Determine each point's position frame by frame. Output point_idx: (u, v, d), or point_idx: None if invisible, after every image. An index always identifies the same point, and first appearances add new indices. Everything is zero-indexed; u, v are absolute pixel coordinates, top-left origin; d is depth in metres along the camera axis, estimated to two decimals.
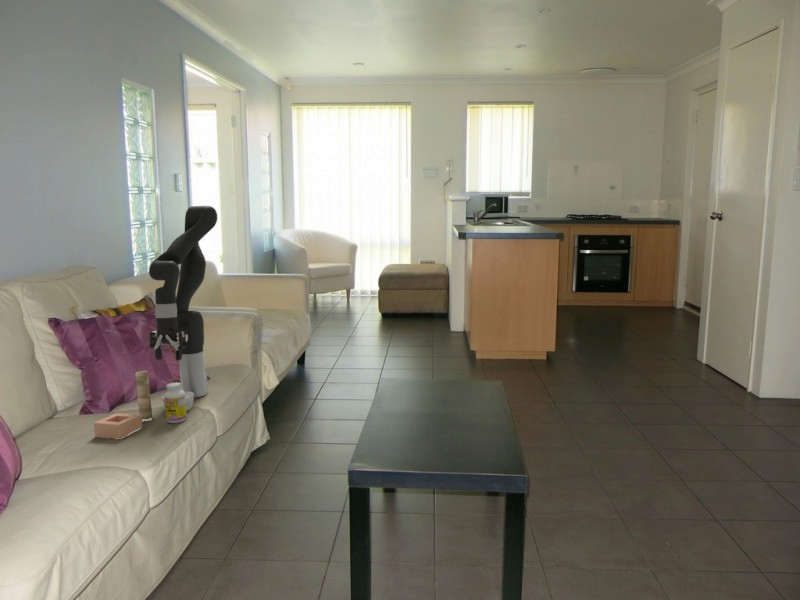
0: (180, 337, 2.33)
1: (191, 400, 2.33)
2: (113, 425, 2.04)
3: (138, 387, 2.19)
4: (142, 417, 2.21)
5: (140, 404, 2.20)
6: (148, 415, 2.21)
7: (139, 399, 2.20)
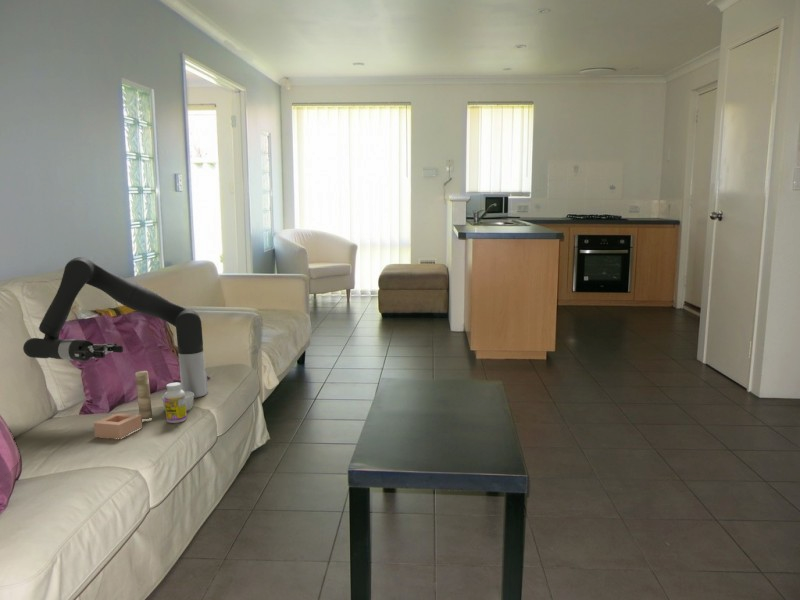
0: None
1: (191, 400, 2.33)
2: (113, 425, 2.04)
3: (138, 387, 2.19)
4: (142, 417, 2.21)
5: (140, 404, 2.20)
6: (148, 415, 2.21)
7: (139, 399, 2.20)
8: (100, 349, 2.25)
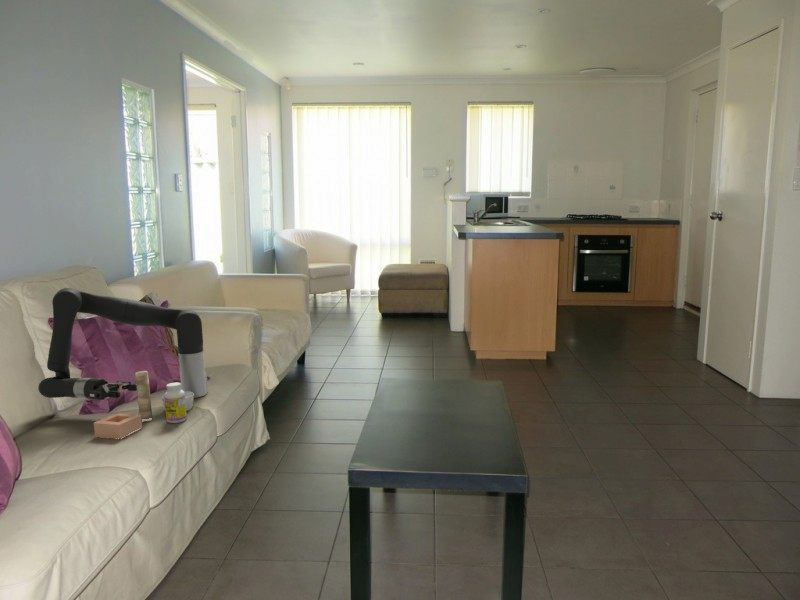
0: None
1: (191, 400, 2.33)
2: (113, 425, 2.04)
3: (138, 387, 2.19)
4: (142, 417, 2.21)
5: (140, 404, 2.20)
6: (148, 415, 2.21)
7: (139, 399, 2.20)
8: (115, 388, 2.26)
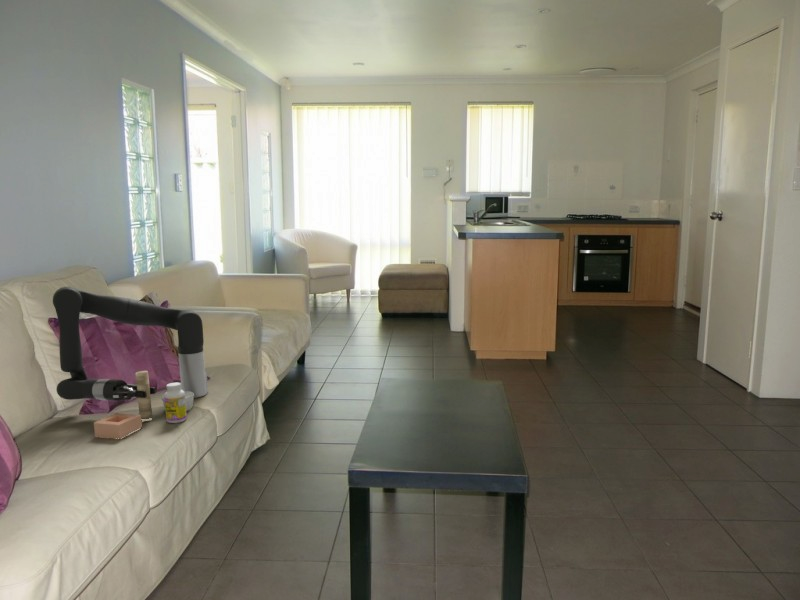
0: None
1: (191, 400, 2.33)
2: (113, 425, 2.04)
3: (138, 387, 2.19)
4: (142, 417, 2.21)
5: (140, 404, 2.20)
6: (148, 415, 2.21)
7: (139, 399, 2.20)
8: None
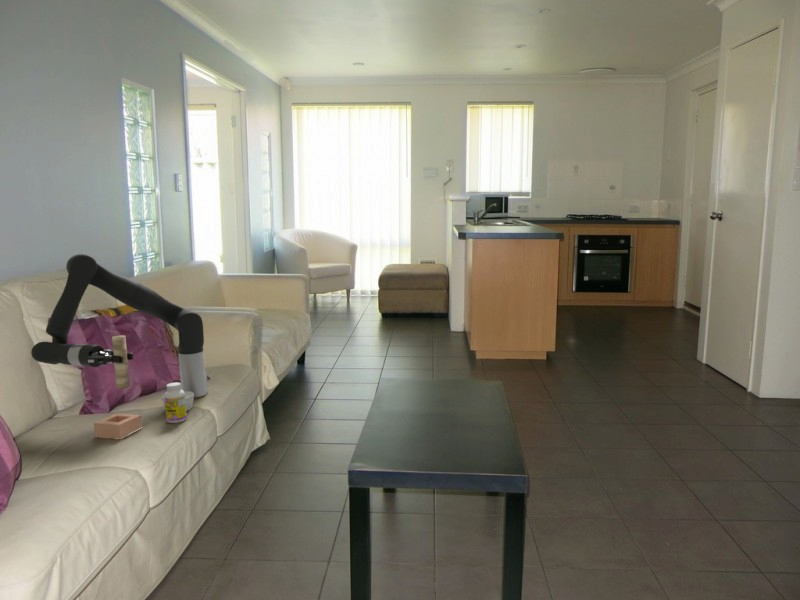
0: None
1: (191, 400, 2.33)
2: (113, 425, 2.04)
3: (115, 352, 2.10)
4: (118, 383, 2.11)
5: (116, 370, 2.10)
6: (125, 382, 2.11)
7: (115, 364, 2.10)
8: None
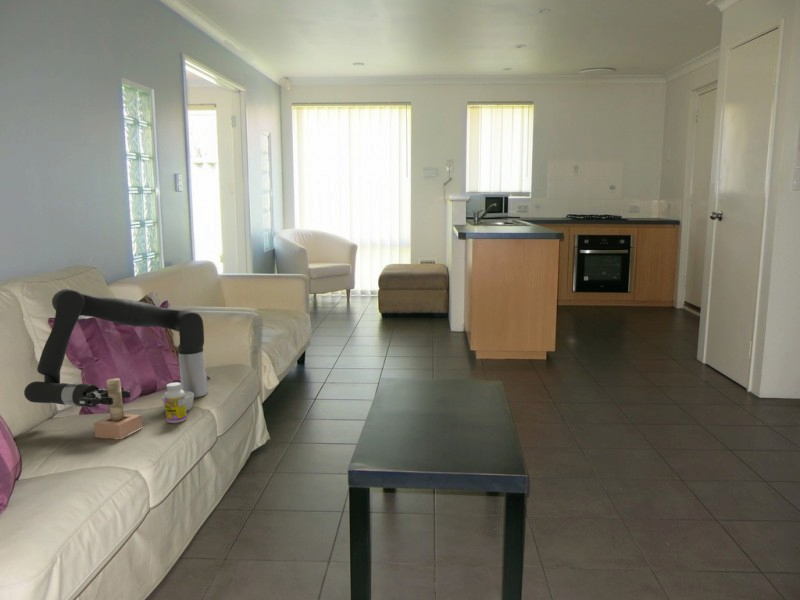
0: None
1: (191, 400, 2.33)
2: (113, 425, 2.04)
3: (109, 396, 2.07)
4: None
5: (112, 414, 2.08)
6: None
7: (110, 408, 2.07)
8: (105, 394, 2.10)
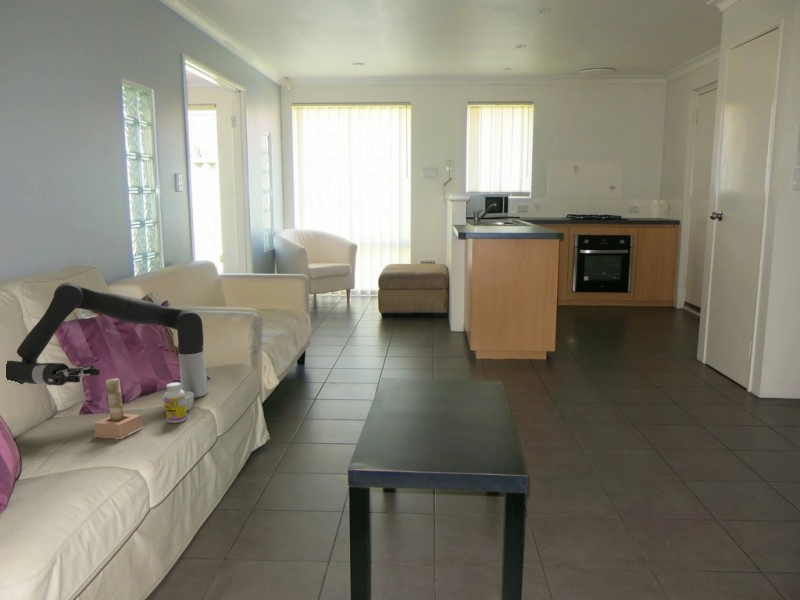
0: None
1: (191, 400, 2.33)
2: (113, 425, 2.04)
3: (109, 396, 2.07)
4: None
5: (111, 414, 2.08)
6: None
7: (110, 408, 2.07)
8: (76, 372, 2.15)
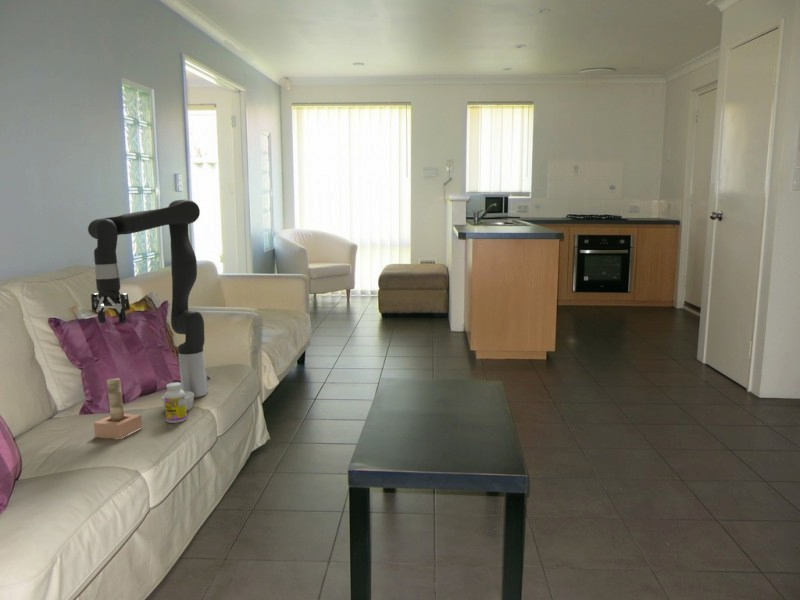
0: (122, 299, 2.22)
1: (191, 400, 2.33)
2: (113, 425, 2.04)
3: (110, 395, 2.07)
4: None
5: (112, 413, 2.08)
6: None
7: (110, 408, 2.08)
8: None
